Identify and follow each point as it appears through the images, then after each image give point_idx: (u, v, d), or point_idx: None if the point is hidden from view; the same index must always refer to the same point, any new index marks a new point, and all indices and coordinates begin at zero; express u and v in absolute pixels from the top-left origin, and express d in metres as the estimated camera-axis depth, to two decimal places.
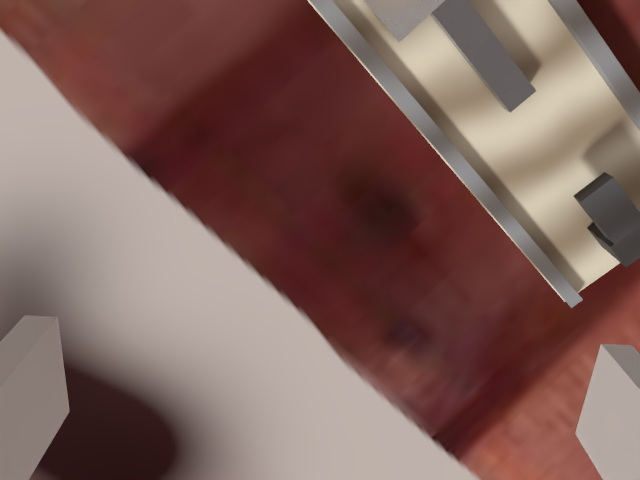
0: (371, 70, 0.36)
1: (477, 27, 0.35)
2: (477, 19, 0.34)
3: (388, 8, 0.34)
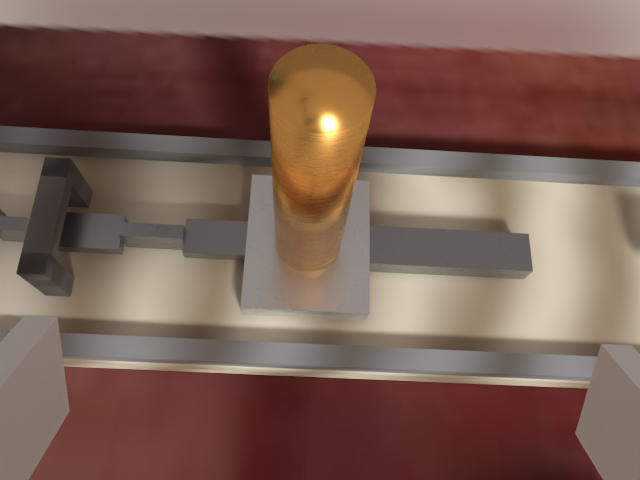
0: (371, 365, 0.27)
1: (420, 236, 0.29)
2: (412, 232, 0.29)
3: (329, 296, 0.27)
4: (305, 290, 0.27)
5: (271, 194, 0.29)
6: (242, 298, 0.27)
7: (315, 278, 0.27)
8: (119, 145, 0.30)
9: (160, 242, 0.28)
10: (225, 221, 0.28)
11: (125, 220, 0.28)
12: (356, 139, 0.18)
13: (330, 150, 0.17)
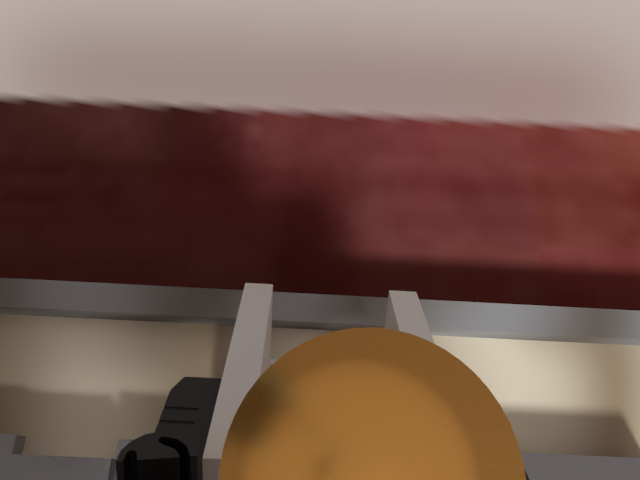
0: None
1: None
2: None
3: None
4: None
5: None
6: None
7: None
8: (20, 301, 0.19)
9: None
10: None
11: (18, 441, 0.17)
12: None
13: None
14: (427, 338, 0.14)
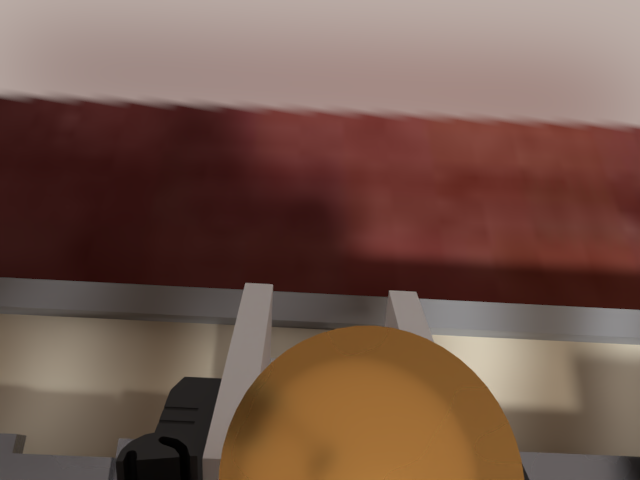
0: None
1: None
2: None
3: None
4: None
5: None
6: None
7: None
8: None
9: None
10: None
11: (18, 441, 0.17)
12: None
13: None
14: (427, 338, 0.14)
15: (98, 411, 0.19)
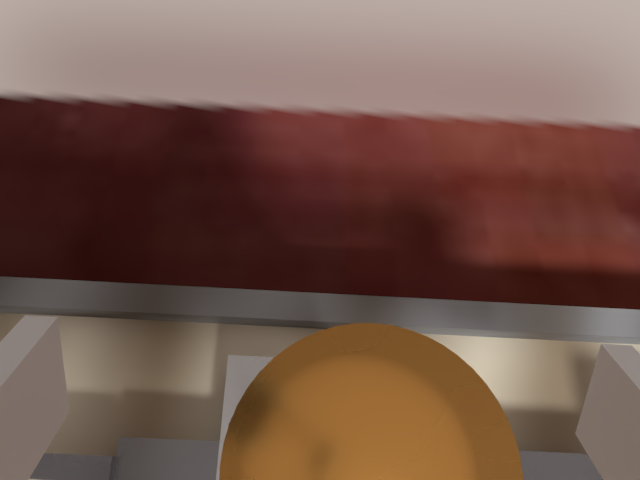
0: None
1: None
2: None
3: None
4: None
5: None
6: None
7: None
8: None
9: None
10: (182, 442, 0.17)
11: None
12: None
13: None
14: None
15: (98, 410, 0.19)
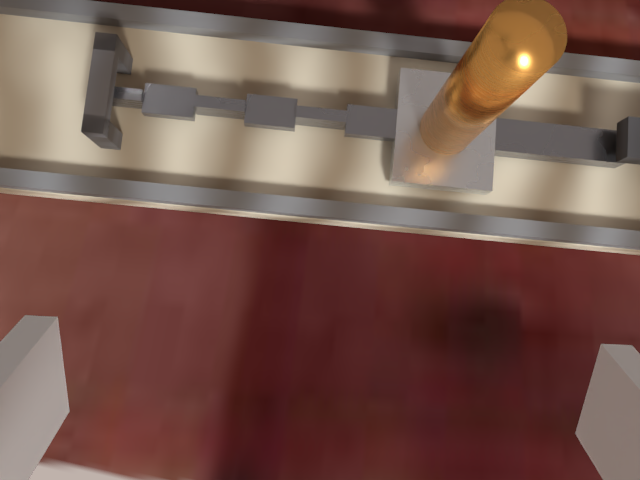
0: (357, 217, 0.34)
1: (537, 129, 0.35)
2: (531, 125, 0.35)
3: (461, 175, 0.34)
4: (442, 169, 0.34)
5: (416, 86, 0.35)
6: (393, 173, 0.34)
7: (450, 160, 0.34)
8: (154, 19, 0.35)
9: (326, 123, 0.35)
10: (378, 108, 0.35)
11: None
12: (543, 74, 0.23)
13: (524, 82, 0.23)
14: None
15: (326, 97, 0.36)
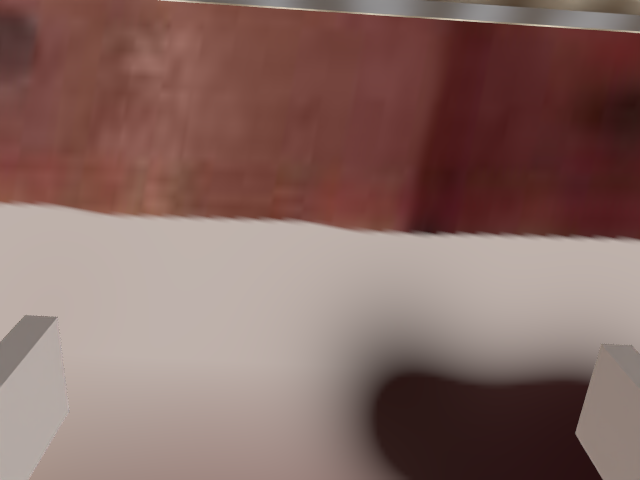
0: (547, 23, 0.39)
1: None
2: None
3: None
4: None
5: None
6: None
7: None
8: None
9: None
10: None
11: None
12: None
13: None
14: None
15: None
